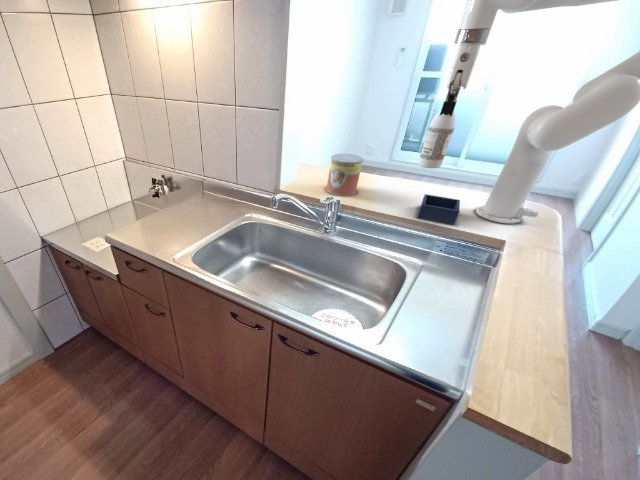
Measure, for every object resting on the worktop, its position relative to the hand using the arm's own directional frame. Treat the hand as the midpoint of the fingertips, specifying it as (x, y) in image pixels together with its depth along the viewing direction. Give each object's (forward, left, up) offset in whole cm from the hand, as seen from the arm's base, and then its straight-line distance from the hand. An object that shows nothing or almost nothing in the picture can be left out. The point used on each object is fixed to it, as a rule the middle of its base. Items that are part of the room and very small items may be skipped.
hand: (445, 115), depth 98 cm
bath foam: (0, 0, -15) cm, 15 cm away
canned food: (+27, 0, -28) cm, 39 cm away
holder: (-7, +7, -28) cm, 30 cm away
